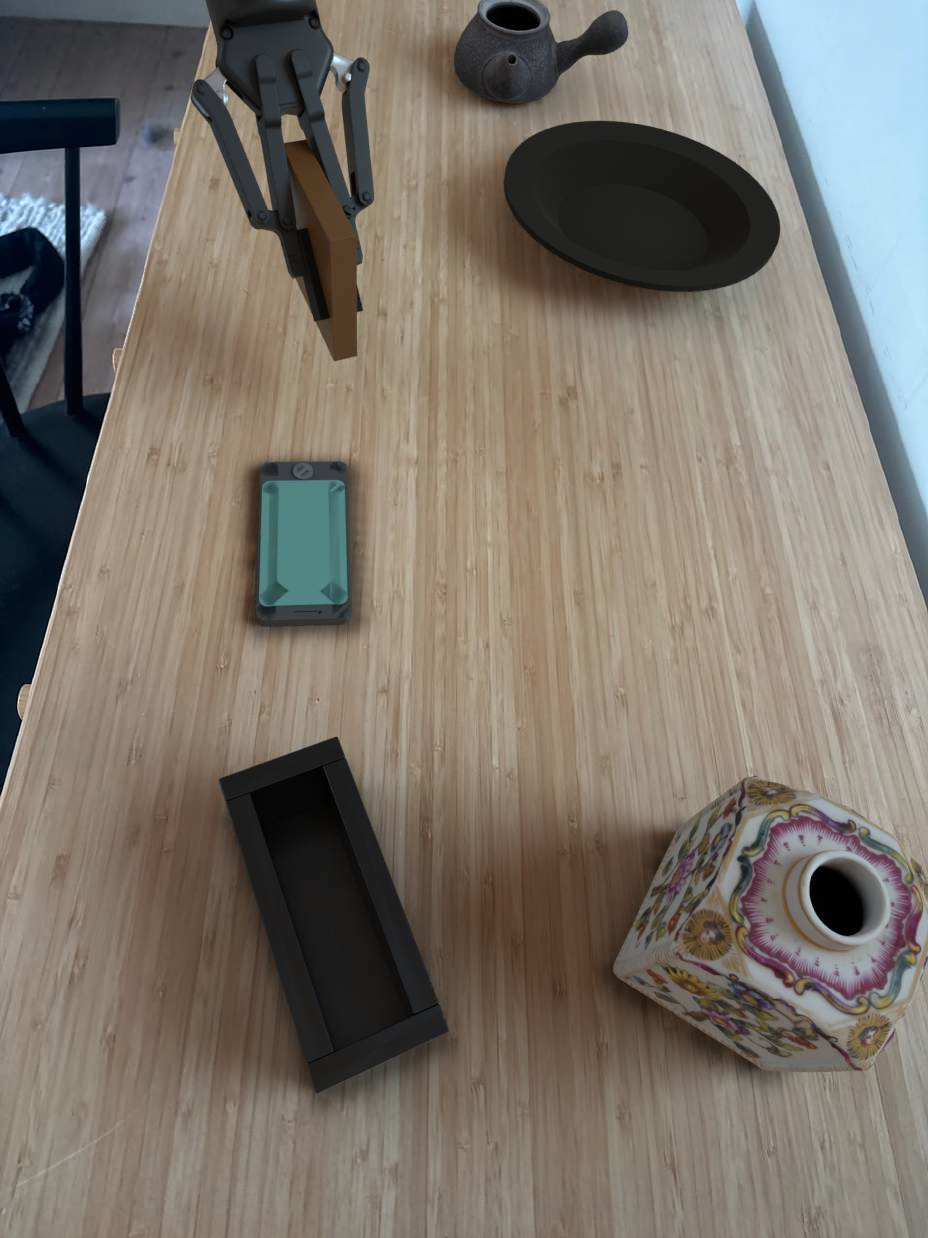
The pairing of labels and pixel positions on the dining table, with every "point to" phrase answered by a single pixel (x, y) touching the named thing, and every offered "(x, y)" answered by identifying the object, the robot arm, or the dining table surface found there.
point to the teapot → (526, 49)
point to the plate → (641, 206)
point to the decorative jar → (783, 929)
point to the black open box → (331, 914)
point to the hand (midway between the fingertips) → (338, 315)
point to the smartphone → (303, 544)
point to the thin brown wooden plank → (326, 248)
